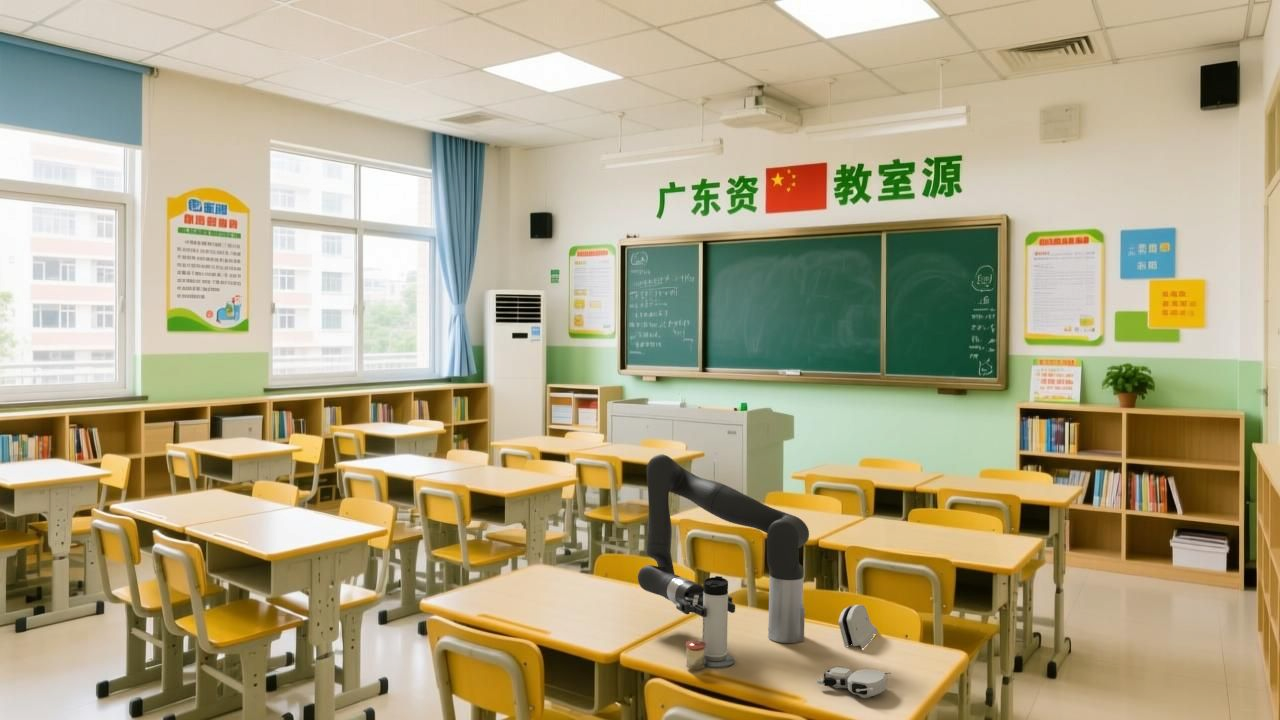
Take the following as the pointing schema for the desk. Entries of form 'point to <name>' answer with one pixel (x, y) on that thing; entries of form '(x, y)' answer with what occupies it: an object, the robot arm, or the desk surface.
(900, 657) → the desk surface
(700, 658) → the grey base with jar
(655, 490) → the robot arm
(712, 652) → the travel mug
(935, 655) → the desk surface
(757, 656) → the desk surface
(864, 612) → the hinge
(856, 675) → the robot toy
